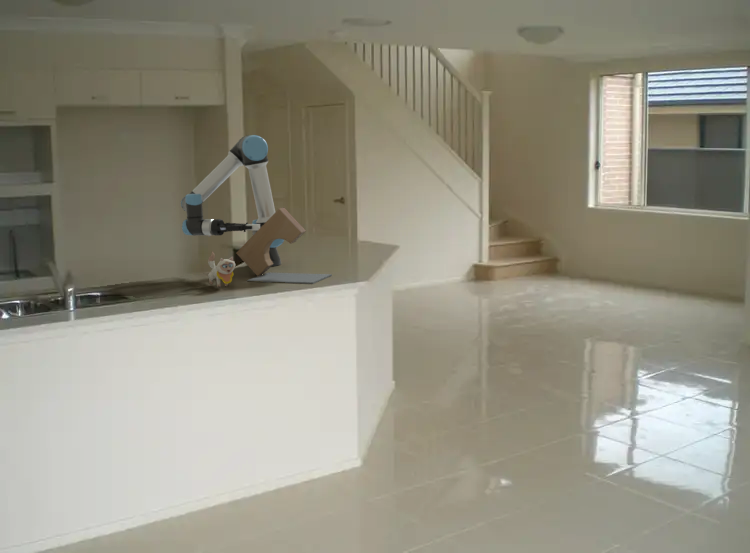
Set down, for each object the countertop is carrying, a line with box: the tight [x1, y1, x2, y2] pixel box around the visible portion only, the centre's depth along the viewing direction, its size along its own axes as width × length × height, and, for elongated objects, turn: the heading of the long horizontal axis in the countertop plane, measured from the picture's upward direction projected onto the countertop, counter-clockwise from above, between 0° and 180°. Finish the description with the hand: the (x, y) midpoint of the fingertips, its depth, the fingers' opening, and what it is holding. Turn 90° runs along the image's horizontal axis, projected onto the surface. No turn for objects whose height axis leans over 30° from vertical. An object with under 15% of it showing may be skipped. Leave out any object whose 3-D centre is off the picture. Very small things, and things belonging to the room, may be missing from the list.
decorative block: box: [235, 207, 307, 277], centre depth 410 cm, size 15×8×30 cm
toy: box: [207, 251, 236, 288], centre depth 385 cm, size 9×19×15 cm, turn 36°
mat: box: [246, 272, 333, 285], centre depth 403 cm, size 22×32×1 cm
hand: (259, 227), depth 407 cm, fingers closed
